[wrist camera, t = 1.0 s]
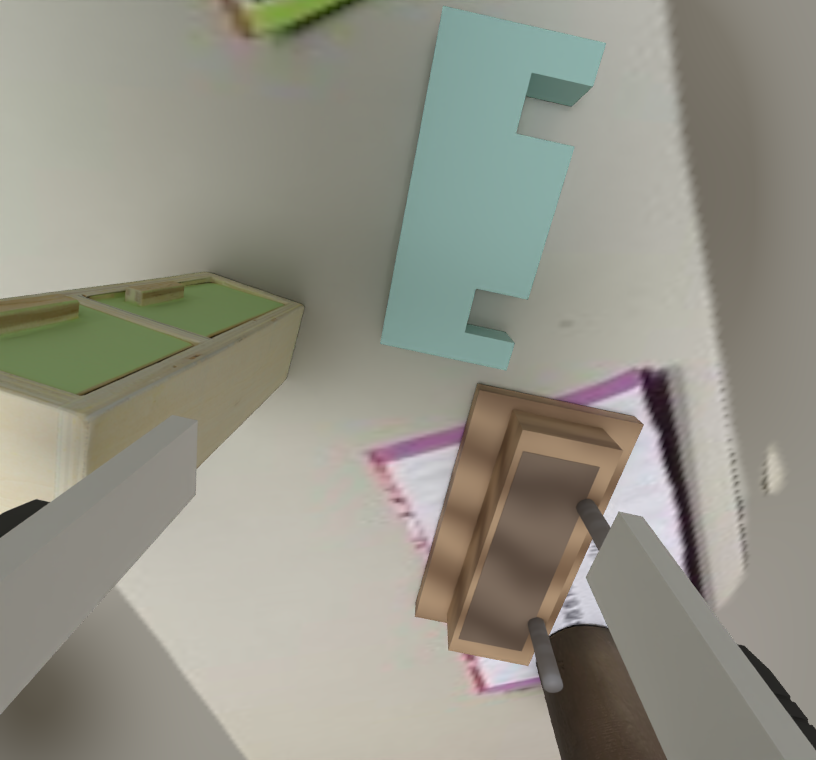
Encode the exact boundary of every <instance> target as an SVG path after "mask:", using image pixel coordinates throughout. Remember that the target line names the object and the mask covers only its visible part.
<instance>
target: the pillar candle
mask: <svg viewBox="0 0 816 760" xmlns="http://www.w3.org/2000/svg"><path fill="white" fill-rule="evenodd" d="M549 640H550V643H551V646H552V649H553V653H554V656H555V659H556V663H557V666H558V669H559V673H560V676H561V679H562V683H563V688H562V690H561V691H559V692H556V693H550V692H547V691H546V690H545V689H544V687H543V684H542V680H541V676H540V672H539V668H538V664H537V663H536V666H537V669H538V674H539V677H540V681H541V685H542V688H543V691H544V695H545V700H546V703H547V707H548V711H549V715H550V718H551V723H552V726H553V730H554V733H555V738H556V742H557V745H558V748H559V752H560V756H561V760H667V758H666V756H665V753H664V751H663V749H662V747H661V744H660V742H659V740H658V738H657V736H656V733H655V731H654V729H653V727H652V724H651V722H650V720H649V718H648V715H647V713H646V711H645V709H644V706H643V704H642V702H641V700H640V698H639V695H638V693H637V691H636V689H635V686H634V684H633V682H632V680H631V677H630V675H629V673H628V671H627V668H626V666H625V664H624V662H623V660H622V657H621V655H620V653H619V651H618V648H617V646H616V644H615V642H614V639H613V637H612V635H611V633H610V630H609V629H607V628H602V627H591V626H576V627H571V628H567V629H564V630H562V631H560V632H559V631H558V632H557V633H556V634H554V635H552V636H551V637H550V638H549Z"/></svg>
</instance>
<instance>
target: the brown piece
mask: <svg viewBox="0 0 816 760" xmlns="http://www.w3.org/2000/svg"><path fill="white" fill-rule="evenodd" d="M643 425H644V424H642V423H641V422H640V421H639V420H638V419H637V418H635V417H634V416H629V415H625V414H620V413H615V412H610V411H606V410H601V409H596V408H592V407H587V406H582V405H577V404H573V403H568V402H563V401H558V400H554V399H549V398H544V397H539V396H535V395H530V394H525V393H520V392H516V391H511V390H506V389H501V388H497V387H492V386H487V385H482V384H477V387H476V391H475V394H474V398H473V401H472V405H471V408H470V412H469V416H468V419H467V423H466V426H465V430H464V433H463V437H462V440H461V444H460V447H459V451H458V455H457V458H456V462H455V465H454V469H453V472H452V476H451V479H450V483H449V487H448V490H447V494H446V497H445V501H444V504H443V508H442V511H441V515H440V519H439V522H438V526H437V529H436V533H435V536H434V540H433V543H432V547H431V550H430V554H429V558H428V561H427V565H426V568H425V572H424V575H423V579H422V582H421V586H420V590H419V593H418V597H417V600H416V607H415V617H420V618H425V619H430V620H435V621H440V622H445V623H447V629H448V650H450V651H455V652H460V653H465V654H470V655H475V656H480V657H485V658H490V659H495V660H501V661H506V662H511V663H516V664H521V665H526V666H528V665H529V663H530V661H531V659H532V656H533V654H534V652H535V656H536V660H537V664H538V668H539V672H540V676H541V680H542V684H543V687H544V689H545V690H546V691H547V692H550V693H556V692H559V691H561V690H562V688H563V683H562V679H561V676H560V673H559V669H558V666H557V663H556V659H555V656H554V653H553V649H552V646H551V643H550V640H549V634H550V632H551V630H552V627H553V625H554V623H555V621H556V618H557V616H558V614H559V612H560V610H561V607H562V605H563V603H564V601H565V598H566V596H567V594H568V592H569V590H570V587H571V585H572V583H573V581H574V579H575V576H576V574H577V572H578V570H579V567H580V565H581V563H582V561H583V559H584V556H585V554H586V552H587V550H588V547H589V545H590V543H591V541H592V539H593V541H594V543H595V545H596V547H597V548H598V550H600V548H601V546H602V544H603V542H604V540H605V538H606V536H607V534H608V532H609V530H610V526H609V524H608V523H607V521H606V520H605V518H604V517H603V514H604V512H605V510H606V507H607V505H608V503H609V501H610V499H611V496H612V494H613V492H614V490H615V487H616V485H617V483H618V481H619V479H620V476H621V474H622V472H623V470H624V467H625V465H626V463H627V461H628V459H629V456H630V454H631V452H632V450H633V447H634V445H635V443H636V441H637V439H638V436H639V434H640V432H641V430H642V427H643Z"/></svg>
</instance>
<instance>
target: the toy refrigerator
mask: <svg viewBox="0 0 816 760" xmlns="http://www.w3.org/2000/svg"><path fill="white" fill-rule="evenodd" d="M303 311H304V306H303V305H302V304H299V303H297V302H294V301H291V300H288V299H285V298H282V297H279V296H276V295H273V294H271V293H268V292H265V291H262V290H259V289H256V288H253V287H250V286H247V285H244V284H241V283H239V282H236V281H233V280H230V279H227V278H224V277H221V276H218V275H215V274H212V273H209V272H200V273H192V274H185V275H179V276H172V277H165V278H156V279H150V280H143V281H135V282H127V283H120V284H112V285H104V286H96V287H88V288H80V289H73V290H65V291H58V292H49V293H42V294H35V295H26V296H18V297H11V298H3V299H0V514H2V513H3V512H6V511H8V510H10V509H13V508H15V507H18V506H20V505H23V504H25V503H27V502H30V501H32V500H35V499H38V500H43V501H47V502H51V501H53V500H54V499H55V498H57V497H58V496H60V495H61V494H62V493H64V492H65V491H67V490H68V489H69V488H71V487H72V486H74V485H75V484H76V483H78V482H79V481H81V480H82V479H83V478H85V477H86V476H88V475H89V474H90V473H92V472H93V471H95V470H96V469H97V468H99V467H100V466H102V465H103V464H104V463H106V462H107V461H109V460H110V459H111V458H113V457H114V456H116V455H117V454H118V453H120V452H121V451H123V450H124V449H125V448H127V447H128V446H130V445H131V444H132V443H134V442H135V441H137V440H138V439H139V438H141V437H142V436H144V435H145V434H146V433H148V432H149V431H151V430H152V429H153V428H155V427H156V426H158V425H159V424H160V423H162V422H163V421H165V420H166V419H167V418H169V417H170V416H172V415H175V416H180V417H184V418H189V419H194V420H198V428H197V462H196V469H197V468H198V467H199V466H200V465H201V464H202V463H203V462H204V461H205V460H206V459H207V458H208V457H209V456H210V455H211V454H212V453H213V452H214V451H215V450H216V449H217V448H218V447H219V446H220V445H221V444H222V443H223V442H224V441H225V440H226V439H227V438H228V437H229V436H230V435H231V434H232V433H233V432H234V431H235V430H236V429H237V428H238V427H239V426H240V425H241V424H242V423H243V422H244V421H245V420H246V419H247V418H248V417H249V416H250V415H251V414H252V413H253V412H254V411H255V410H256V409H257V408H258V407H259V406H260V405H261V404H262V403H263V402H264V401H265V400H266V399H267V398H268V397H269V396H270V395H271V394H272V393H273V392H274V391H275V390H276V389H277V388H278V387H279V386H280V385H281V384H282V383H283V382H284V381H285V380H286V378H287V374H288V370H289V366H290V362H291V359H292V355H293V351H294V347H295V343H296V339H297V335H298V331H299V327H300V323H301V319H302V315H303Z"/></svg>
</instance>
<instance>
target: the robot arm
mask: <svg viewBox="0 0 816 760" xmlns="http://www.w3.org/2000/svg"><path fill="white" fill-rule="evenodd" d="M197 428H198V420H194V419H189V418H184V417H180V416H175V415H172V416H170V417H169V418H167V419H166V420H165V421H163V422H162V423H160V424H159V425H158V426H156V427H155V428H153V429H152V430H151V431H149V432H148V433H146V434H145V435H144V436H142V437H141V438H139V439H138V440H137V441H135V442H134V443H132V444H131V445H130V446H128V447H127V448H125V449H124V450H123V451H121V452H120V453H118V454H117V455H116V456H114V457H113V458H111V459H110V460H109V461H107V462H106V463H104V464H103V465H102V466H100V467H99V468H97V469H96V470H95V471H93V472H92V473H90V474H89V475H88V476H86V477H85V478H83V479H82V480H81V481H79V482H78V483H76V484H75V485H74V486H72V487H71V488H69V489H68V490H67V491H65V492H64V493H62V494H61V495H60V496H58V497H57V498H55V499H54V500H53V501H51V502H47V501H43V500H38V499H35V500H32V501H30V502H27V503H25V504H23V505H20V506H18V507H15V508H13V509H10V510H8V511H6V512H3V513H2V514H0V714H1V713H2V712H3V711H4V710H5V709H6V708H7V706H8V705H9V704H10V703H11V702H12V701H13V699H15V697H16V696H17V695H18V694H19V693H20V692H21V691H22V689H23V688H24V687H25V686H26V685H27V684H28V683H29V682H30V681H31V679H32V678H33V677H34V676H35V675H36V674H37V672H39V670H40V669H41V668H42V667H43V666H44V665H45V663H46V662H47V661H48V660H49V659H50V658H51V657H52V656H53V655H54V653H55V652H56V651H57V650H58V649H59V648H60V647H61V646H62V644H63V643H64V642H65V641H66V640H67V639H68V638H69V637H70V635H71V634H72V633H73V632H74V631H75V630H76V629H77V628H78V626H79V625H80V624H81V623H82V622H83V621H84V620H85V619H86V617H87V616H88V615H89V614H90V613H91V612H92V611H93V609H94V608H95V607H96V606H97V605H98V604H99V603H100V602H101V601H102V599H103V598H104V597H105V596H106V595H107V594H108V593H109V592H110V590H111V589H112V588H113V587H114V586H115V585H116V584H117V583H118V581H119V580H120V579H121V578H122V577H123V576H124V575H125V574H126V572H127V571H128V570H129V569H130V568H131V567H132V566H133V565H134V563H135V562H136V561H137V560H138V559H139V558H140V557H141V556H142V554H143V553H144V552H145V551H146V550H147V549H148V548H149V547H150V545H151V544H152V543H153V542H154V541H155V540H156V539H157V538H158V536H159V535H160V534H161V533H162V532H163V531H164V530H165V529H166V527H167V526H168V525H169V524H170V523H171V522H172V521H173V520H174V518H175V517H176V516H177V515H178V514H179V513H180V512H181V511H182V509H183V508H184V507H185V506H186V505H187V504H188V503H189V502H190V500H191V499H192V498H193V497H194V496H195V495H196V462H197ZM586 579H587V581H588V584H589V586H590V588H591V590H592V593H593V595H594V597H595V599H596V601H597V604H598V606H599V608H600V610H601V613H602V615H603V617H604V619H605V622H606V624H607V626H608V628H609V630H610V633H611V635H612V637H613V639H614V642H615V644H616V646H617V648H618V651H619V653H620V655H621V657H622V660H623V662H624V664H625V666H626V668H627V671H628V673H629V675H630V677H631V680H632V682H633V684H634V686H635V689H636V691H637V693H638V695H639V698H640V700H641V702H642V704H643V706H644V709H645V711H646V713H647V715H648V718H649V720H650V722H651V724H652V727H653V729H654V731H655V733H656V736H657V738H658V740H659V742H660V744H661V747H662V749H663V751H664V753H665V756H666V758H667V760H816V729H815V728H814V727H813V725H809V723H808V719H807V717H806V716H805V715H804V714H803V712H802V711H801V710H800V708H799V707H798V706H797V704H796V703H795V702H792V701H791V700H790V695H789V694H788V693H787V692H786V690H785V689H784V688H783V686H782V685H781V684H780V682H779V681H778V680H777V679H776V677H775V676H774V675H773V673H772V672H771V671H770V670H769V669H768V668H767V667H766V666H765V665H764V664H763V663H762V662H761V661H760V660H759V659H757V657H756V656H754V655H753V654H752V653H751V652H750V651H749V650H748V649H747V648H746V647H745V646H742V645H738V644H737V643H736V642H735V641H734V639H733V638H732V637H731V635H730V634H729V633H728V631H727V630H726V629H725V627H724V626H723V625H722V623H721V622H720V621H719V619H718V618H717V616H716V615H715V614H714V612H713V611H712V610H711V608H710V607H709V606H708V604H707V603H706V602H705V600H704V599H703V598H702V596H701V595H700V594H699V592H698V591H697V589H696V588H695V587H694V585H693V584H692V583H691V581H690V580H689V579H688V577H687V576H686V575H685V573H684V572H683V571H682V569H681V568H680V567H679V565H678V564H677V562H676V561H675V560H674V558H673V557H672V556H671V554H670V553H669V552H668V550H667V549H666V548H665V546H664V545H663V544H662V542H661V541H660V540H659V538H658V537H657V535H656V534H655V533H654V531H653V530H652V529H651V527H650V526H649V525H648V523H647V522H646V521H645V519H644V518H643V517H641V516H637V515H632V514H628V513H623V512H618V514H617V516H616V518H615V520H614V522H613V524H612V526H611V528H610V530H609V532H608V534H607V536H606V538H605V540H604V542H603V544H602V546H601V548H600V550H599V552H598V554H597V556H596V558H595V560H594V562H593V564H592V566H591V568H590V570H589V572H588V574H587V576H586Z"/></svg>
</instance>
